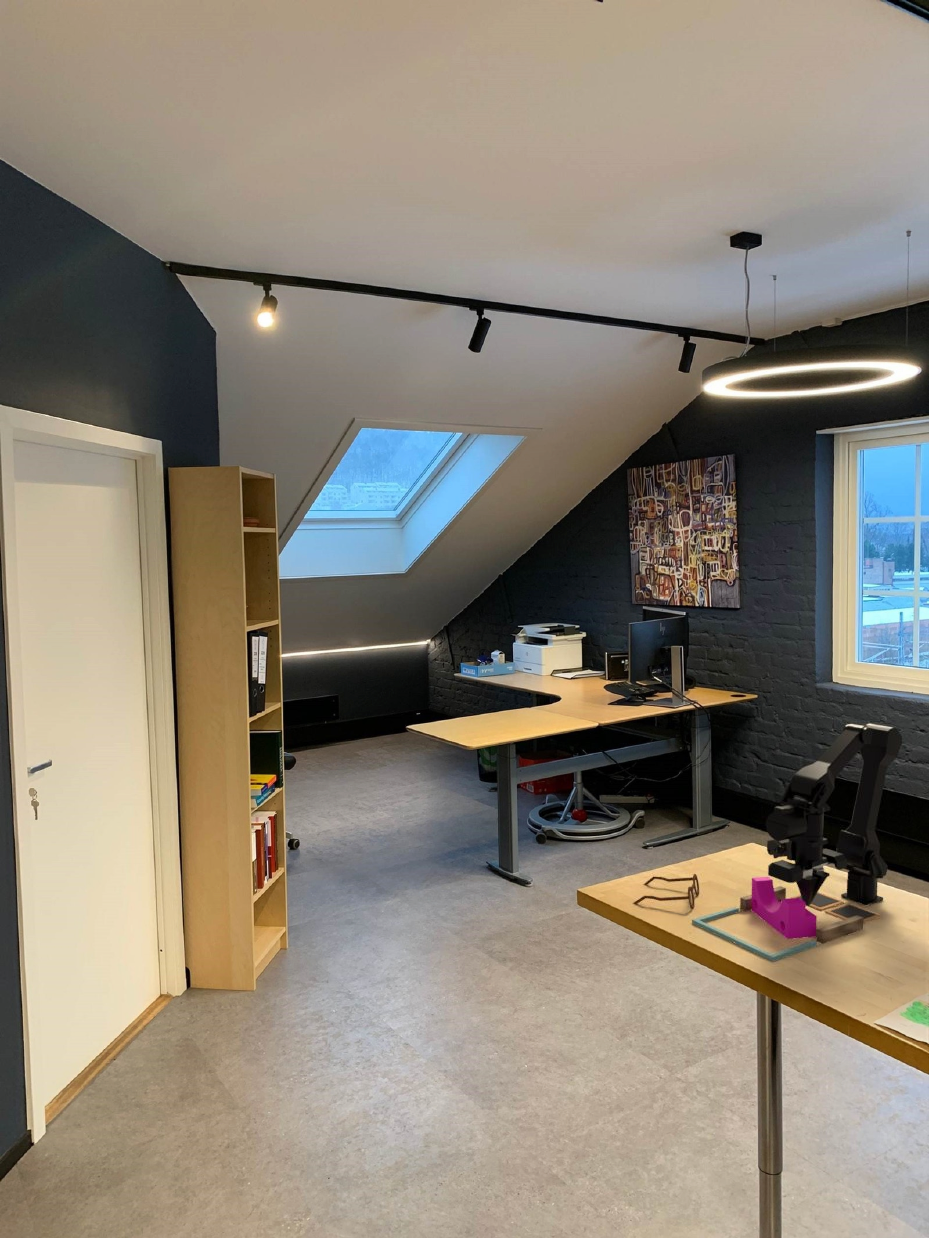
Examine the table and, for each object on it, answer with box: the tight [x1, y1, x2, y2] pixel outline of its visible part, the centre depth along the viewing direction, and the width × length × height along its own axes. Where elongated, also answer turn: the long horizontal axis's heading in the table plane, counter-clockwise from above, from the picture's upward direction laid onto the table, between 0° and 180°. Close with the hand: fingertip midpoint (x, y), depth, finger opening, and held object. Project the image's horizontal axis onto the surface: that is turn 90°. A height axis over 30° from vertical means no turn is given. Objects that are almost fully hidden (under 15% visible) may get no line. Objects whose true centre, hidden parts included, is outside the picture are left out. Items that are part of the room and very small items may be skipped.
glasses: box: [632, 873, 700, 910], centre depth 204 cm, size 13×13×5 cm
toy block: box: [751, 876, 818, 940], centre depth 189 cm, size 15×6×8 cm, turn 10°
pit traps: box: [790, 891, 882, 924], centre depth 197 cm, size 8×17×1 cm, turn 31°
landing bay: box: [691, 906, 819, 962], centre depth 183 cm, size 13×21×1 cm, turn 31°
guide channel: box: [739, 885, 865, 945], centre depth 191 cm, size 13×21×2 cm, turn 31°
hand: (807, 904), depth 192 cm, fingers closed
